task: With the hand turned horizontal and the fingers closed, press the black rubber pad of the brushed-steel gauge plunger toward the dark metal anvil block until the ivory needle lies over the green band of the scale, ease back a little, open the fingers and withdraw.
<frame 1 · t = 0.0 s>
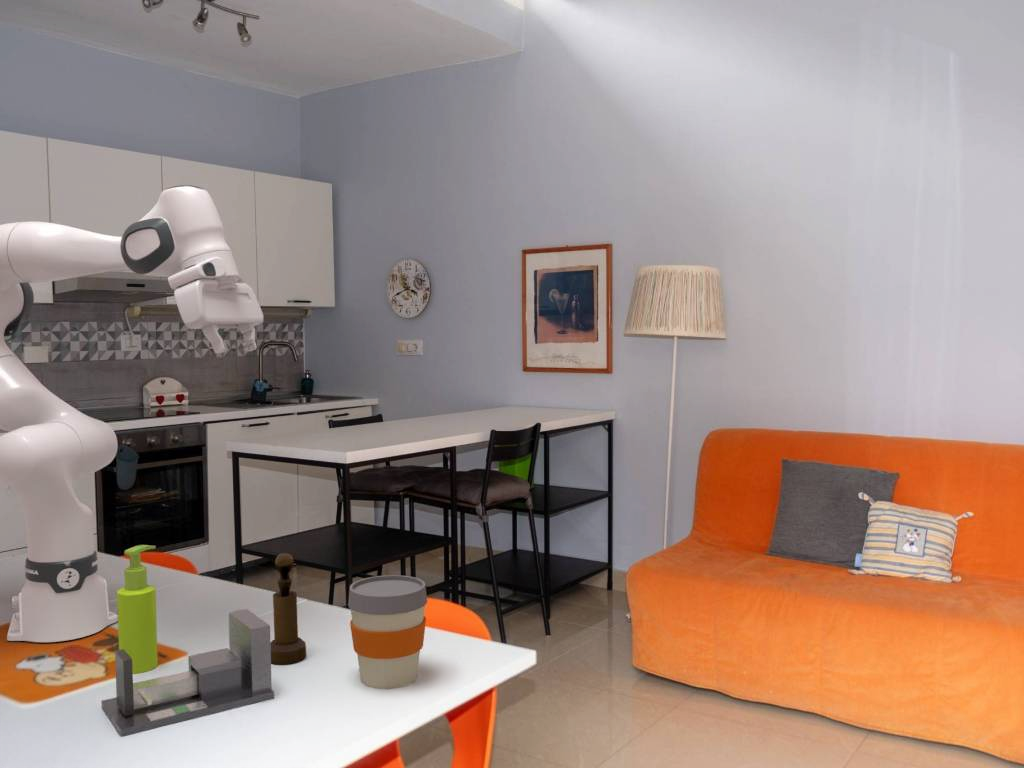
hand: (236, 351, 159), 52 cm above the table, tool tilted 20°, fingers open, 8 cm apart
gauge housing: (188, 702, 139), on the table
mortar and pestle: (286, 659, 157), on the table
reusable coffee cup: (389, 678, 148), on the table
soap dispenser: (141, 666, 154), on the table
plunger: (163, 677, 135), point 5 cm above the table, slide at 0.0 cm
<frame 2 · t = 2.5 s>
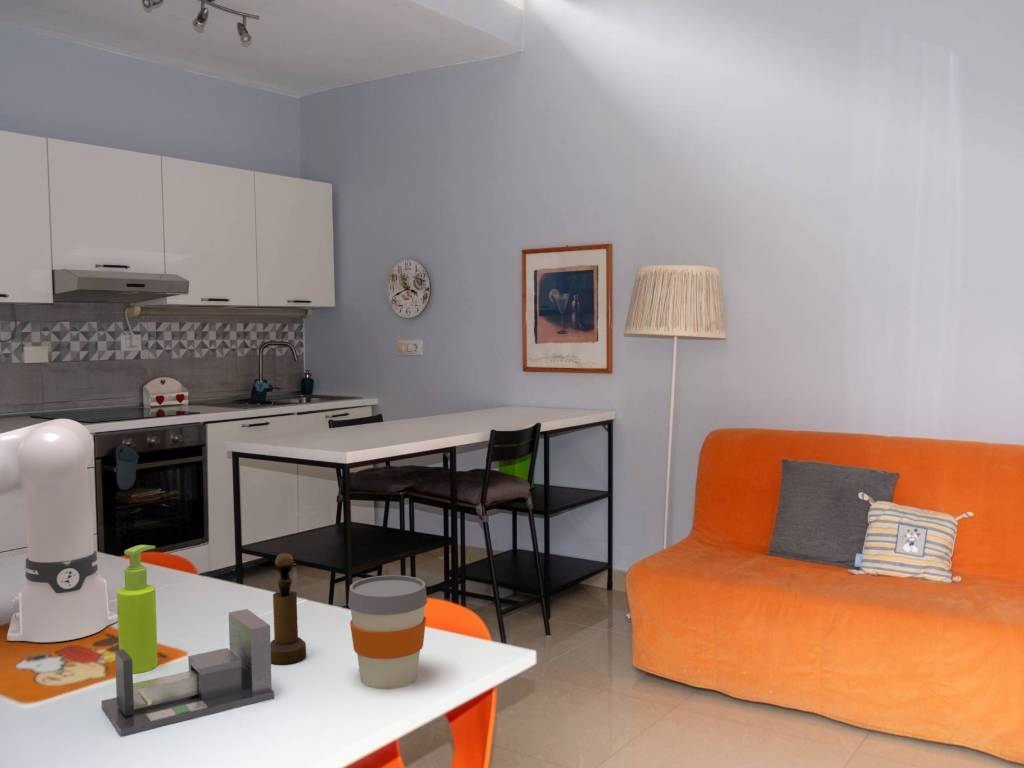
nothing on the table moved.
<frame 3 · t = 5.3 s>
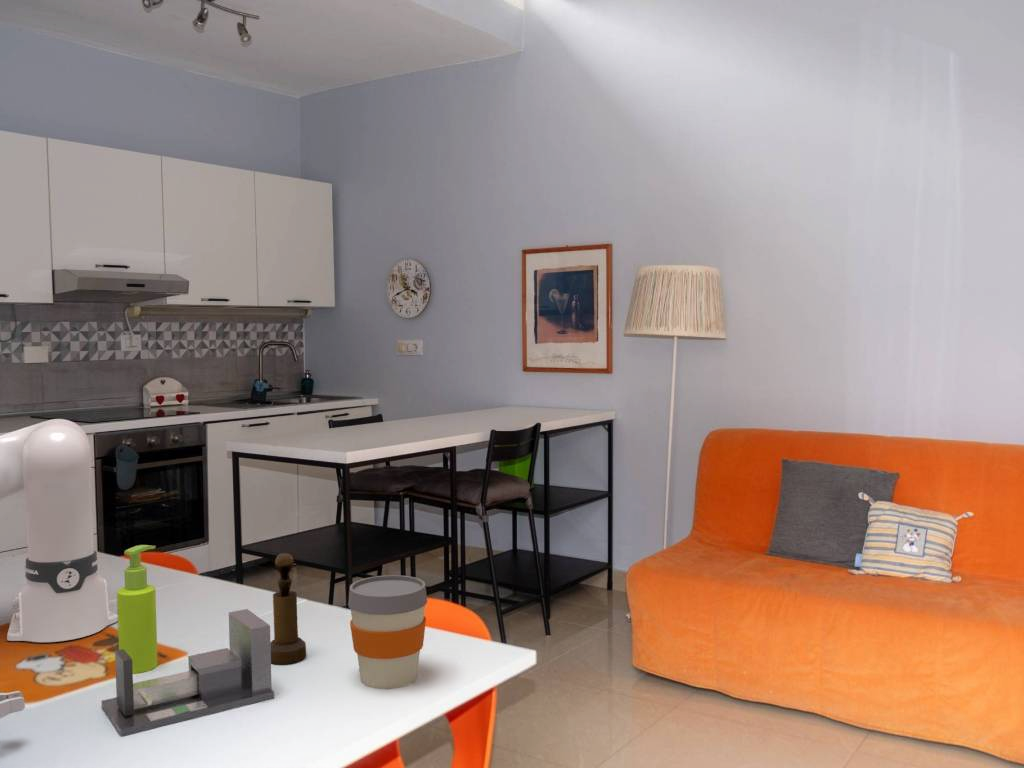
hand: (23, 700, 126), 6 cm above the table, tool horizontal, fingers closed
nothing on the table moved.
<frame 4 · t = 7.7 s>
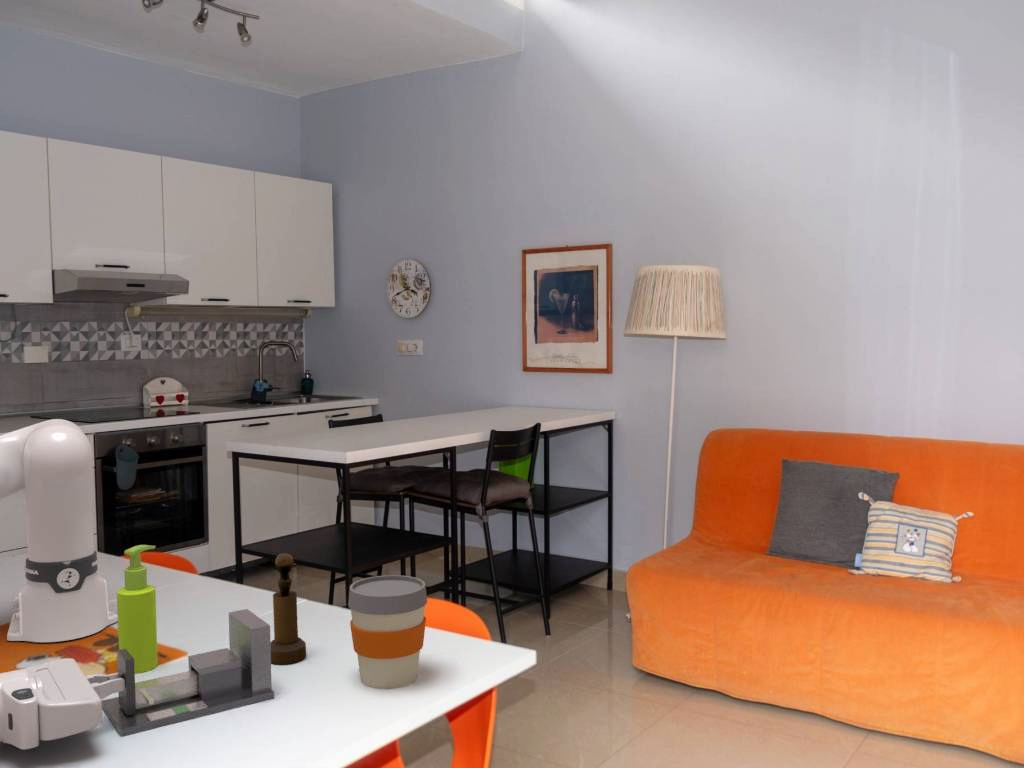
hand: (122, 681, 133), 6 cm above the table, tool horizontal, fingers closed, pressing on plunger
plunger: (165, 677, 135), point 5 cm above the table, slide at 0.3 cm, touching gripper
everything else where it was.
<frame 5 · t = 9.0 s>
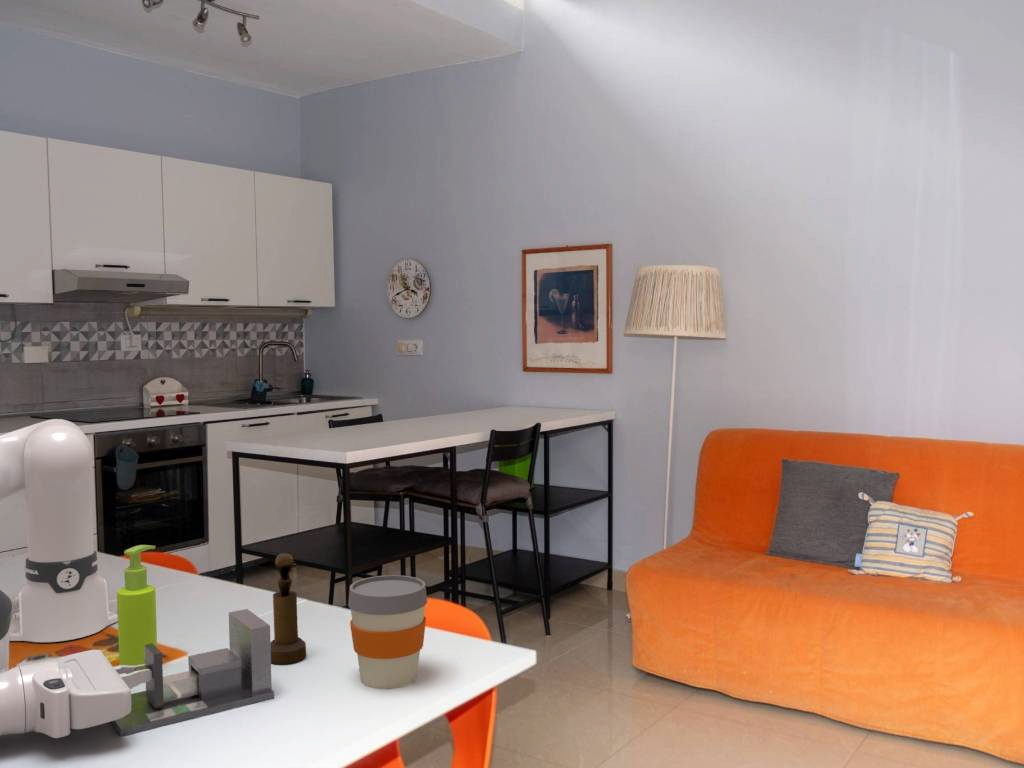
hand: (149, 672, 135), 6 cm above the table, tool horizontal, fingers closed, pressing on plunger
plunger: (191, 671, 137), point 5 cm above the table, slide at 4.1 cm, touching gripper
everything else where it was.
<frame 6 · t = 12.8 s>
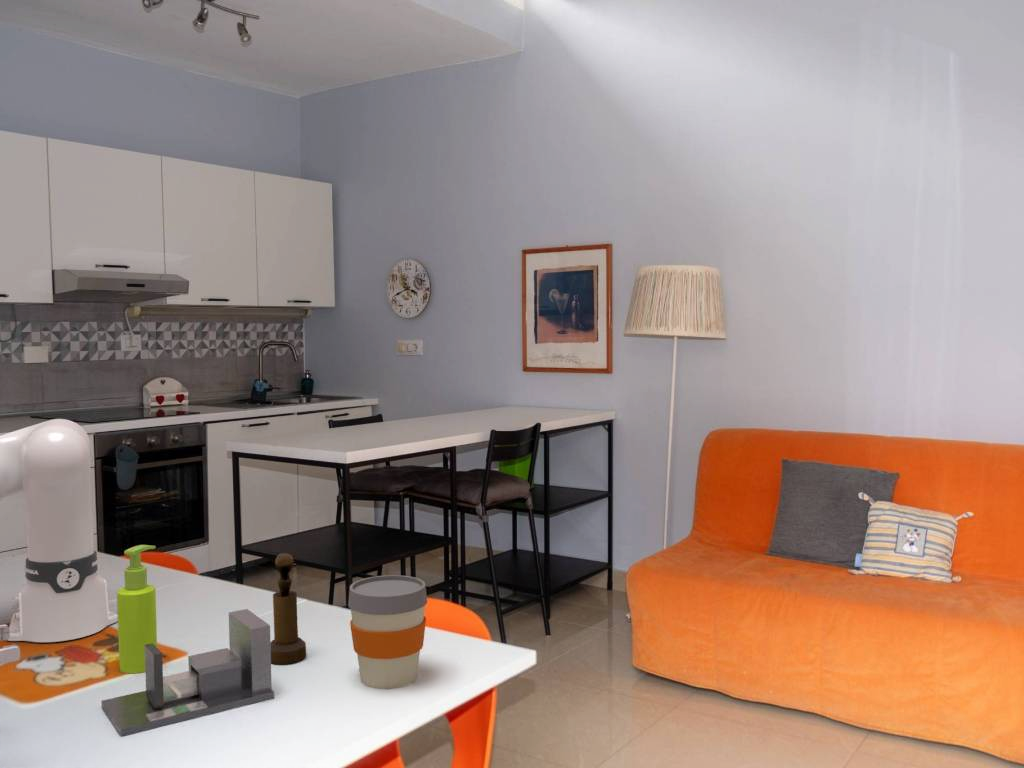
hand: (14, 641, 123), 15 cm above the table, tool horizontal, fingers open, 8 cm apart
plunger: (191, 671, 137), point 5 cm above the table, slide at 4.1 cm
everything else where it was.
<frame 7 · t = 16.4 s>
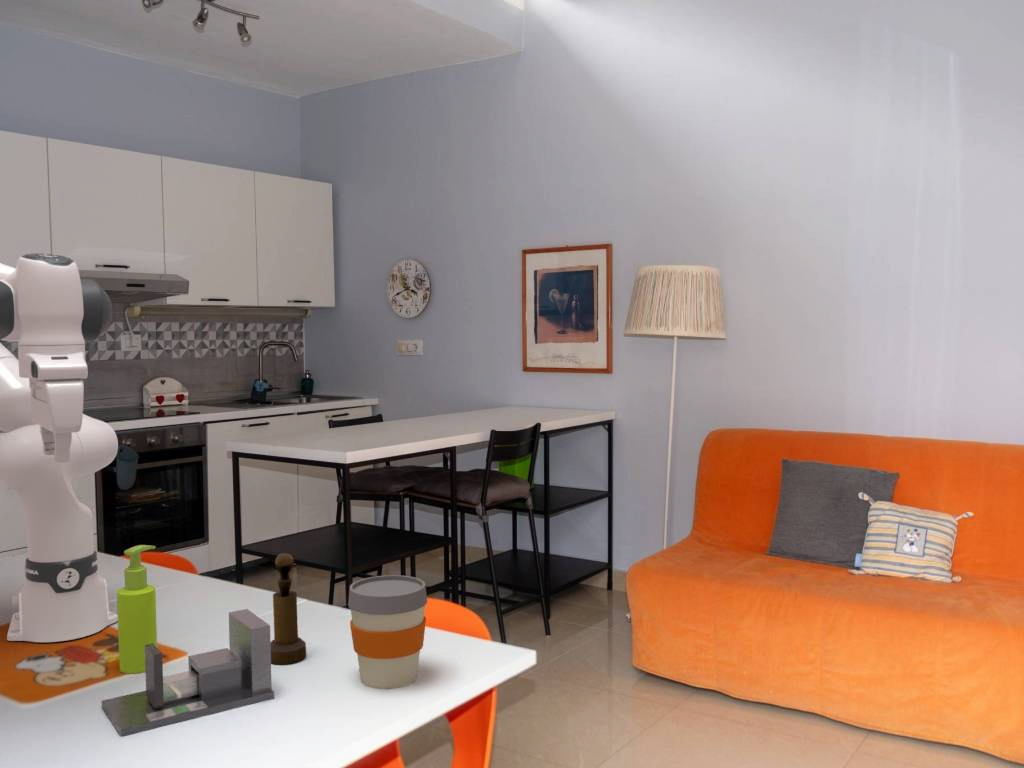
hand: (56, 458, 137), 37 cm above the table, tool pointing down, fingers open, 8 cm apart
nothing on the table moved.
at the end: plunger slide at 4.1 cm; the gripper is holding nothing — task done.
